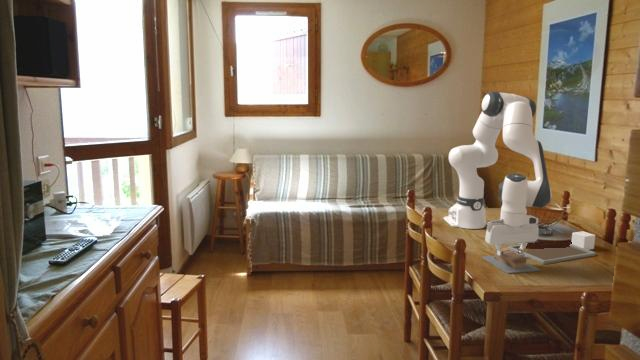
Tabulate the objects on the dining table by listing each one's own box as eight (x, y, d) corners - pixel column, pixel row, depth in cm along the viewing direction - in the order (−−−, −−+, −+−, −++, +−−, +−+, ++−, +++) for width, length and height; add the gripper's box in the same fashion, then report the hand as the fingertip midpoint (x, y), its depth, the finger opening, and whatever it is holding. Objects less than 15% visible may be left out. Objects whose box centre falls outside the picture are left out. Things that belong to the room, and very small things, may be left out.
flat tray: (596, 252, 191) (538, 262, 180) (596, 256, 191) (537, 266, 180) (557, 239, 209) (501, 247, 198) (556, 242, 209) (501, 250, 198)
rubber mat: (481, 257, 188) (481, 256, 188) (511, 255, 191) (511, 254, 191) (507, 273, 172) (507, 272, 172) (539, 270, 175) (539, 269, 175)
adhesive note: (581, 244, 204) (582, 231, 203) (593, 249, 199) (595, 235, 198) (570, 246, 202) (572, 232, 201) (583, 250, 197) (584, 236, 196)
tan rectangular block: (525, 266, 177) (526, 257, 176) (514, 268, 175) (515, 258, 175) (504, 257, 187) (505, 247, 187) (494, 258, 186) (495, 249, 185)
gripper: (492, 222, 173) (490, 259, 175) (542, 218, 177) (539, 254, 180) (483, 217, 179) (480, 253, 181) (531, 214, 183) (528, 249, 186)
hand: (510, 254), depth 181 cm, fingers open, 7 cm apart
